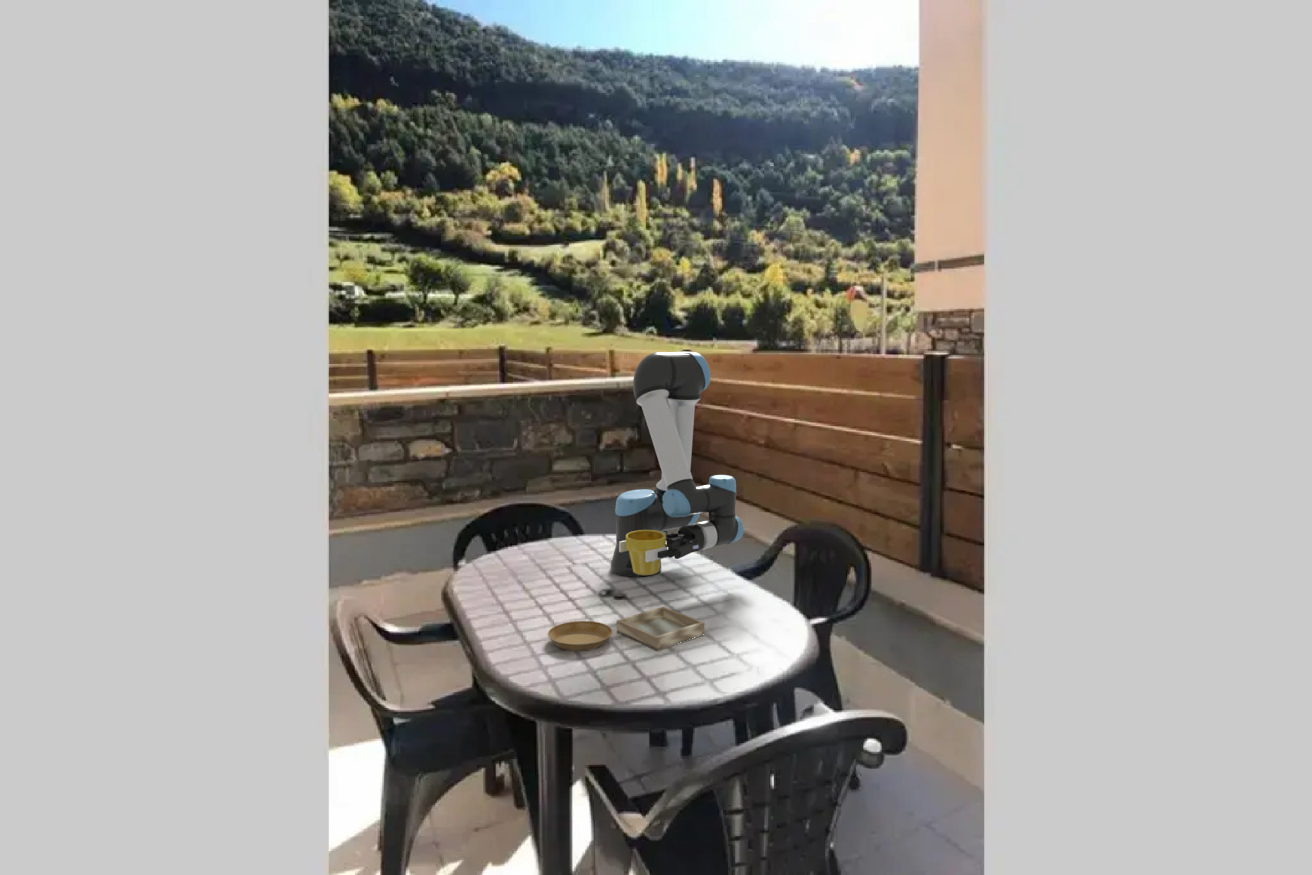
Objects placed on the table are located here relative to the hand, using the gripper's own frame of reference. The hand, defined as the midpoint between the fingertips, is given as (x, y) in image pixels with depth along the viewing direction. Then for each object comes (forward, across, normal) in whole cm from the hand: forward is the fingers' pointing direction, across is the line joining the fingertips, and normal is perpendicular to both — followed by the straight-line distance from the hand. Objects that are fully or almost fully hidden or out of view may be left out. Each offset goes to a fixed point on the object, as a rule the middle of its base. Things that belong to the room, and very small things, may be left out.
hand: (632, 551), depth 204 cm
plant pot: (-4, 0, -6) cm, 8 cm away
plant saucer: (+24, -11, -15) cm, 30 cm away
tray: (+7, -19, -14) cm, 25 cm away
